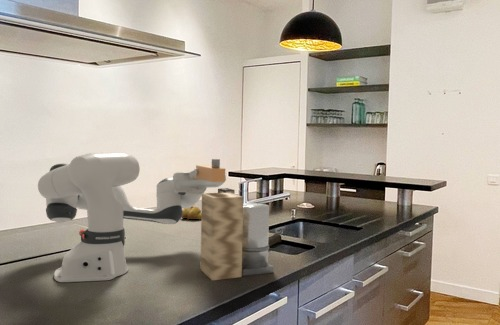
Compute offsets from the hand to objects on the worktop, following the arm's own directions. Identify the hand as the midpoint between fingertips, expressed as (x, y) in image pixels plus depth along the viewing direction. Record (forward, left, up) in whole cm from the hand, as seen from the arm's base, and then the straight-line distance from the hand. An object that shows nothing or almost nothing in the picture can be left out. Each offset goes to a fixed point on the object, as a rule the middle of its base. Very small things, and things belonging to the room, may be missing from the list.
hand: (204, 170), depth 161 cm
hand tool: (+32, +8, -33) cm, 47 cm away
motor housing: (+11, -19, -33) cm, 40 cm away
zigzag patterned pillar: (0, -20, -33) cm, 38 cm away
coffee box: (+39, +79, -33) cm, 94 cm away
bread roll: (+18, +78, -33) cm, 86 cm away
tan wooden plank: (0, -6, -3) cm, 7 cm away
